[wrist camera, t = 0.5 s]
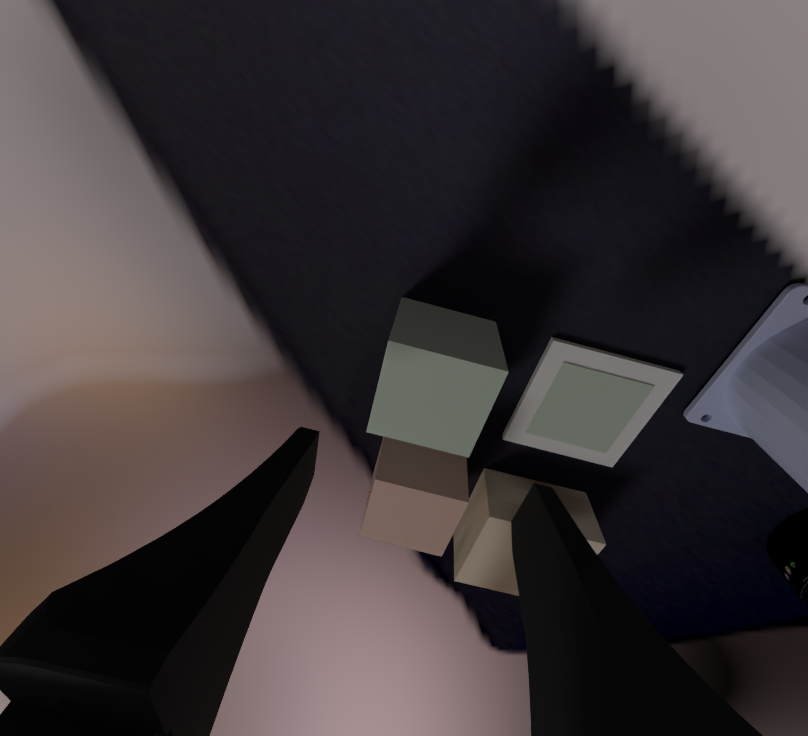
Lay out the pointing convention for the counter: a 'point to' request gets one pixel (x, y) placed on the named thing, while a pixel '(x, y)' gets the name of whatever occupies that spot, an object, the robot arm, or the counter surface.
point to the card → (588, 402)
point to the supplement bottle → (792, 553)
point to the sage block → (438, 378)
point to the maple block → (506, 529)
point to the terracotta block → (415, 497)
